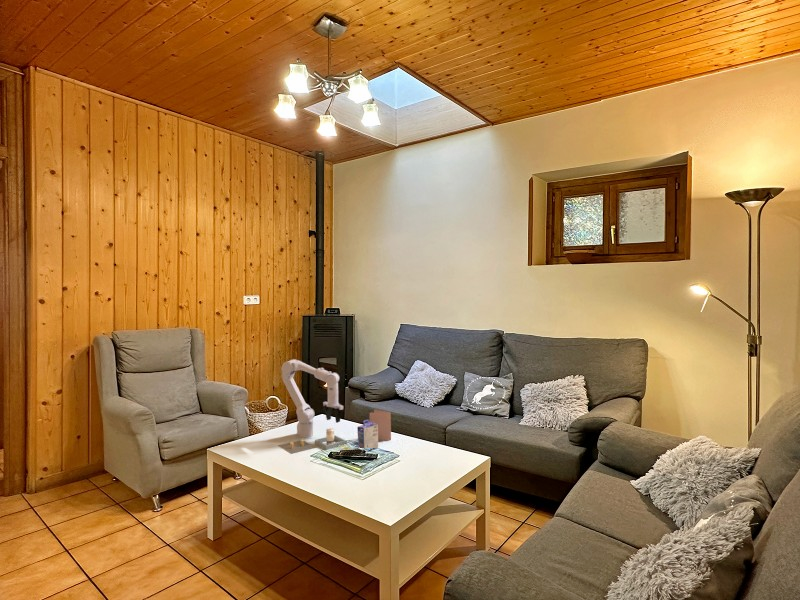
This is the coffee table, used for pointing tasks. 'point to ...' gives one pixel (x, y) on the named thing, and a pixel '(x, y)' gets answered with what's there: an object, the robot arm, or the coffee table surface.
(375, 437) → the ink cartridge box
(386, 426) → the greeting card
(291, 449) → the flat gray square panel
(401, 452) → the coffee table surface
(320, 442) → the parts tray
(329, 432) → the led light bulb
